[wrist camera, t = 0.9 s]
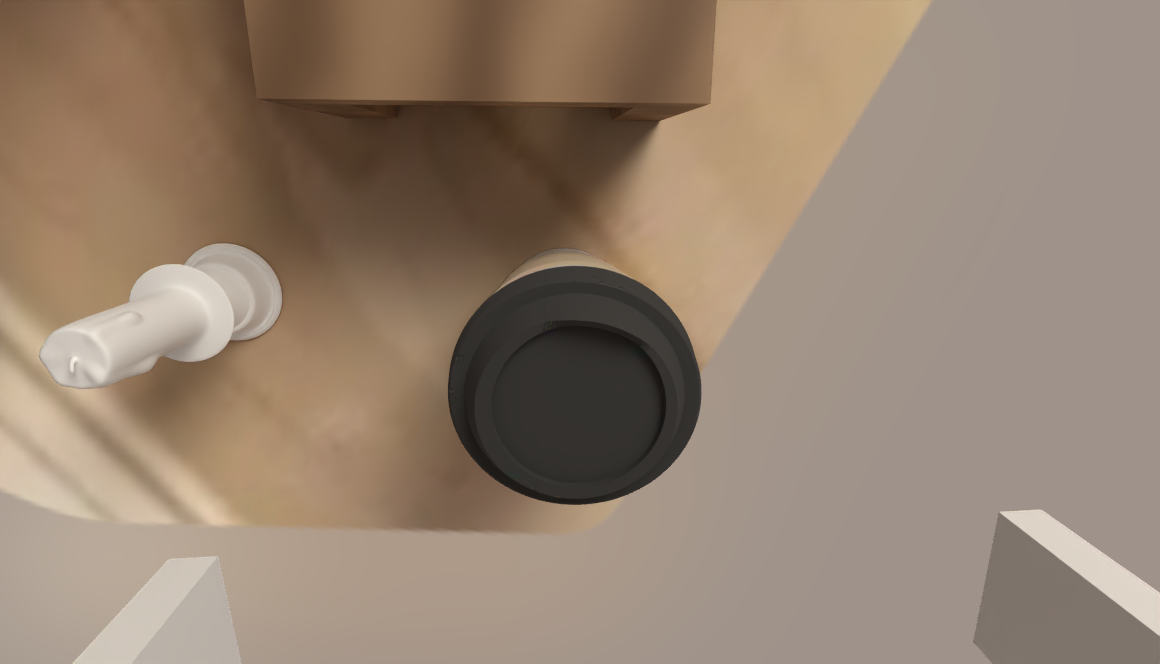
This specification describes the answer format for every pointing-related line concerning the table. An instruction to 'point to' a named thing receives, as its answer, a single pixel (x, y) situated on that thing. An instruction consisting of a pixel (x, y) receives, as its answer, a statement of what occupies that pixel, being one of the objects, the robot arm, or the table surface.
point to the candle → (169, 318)
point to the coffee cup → (574, 381)
